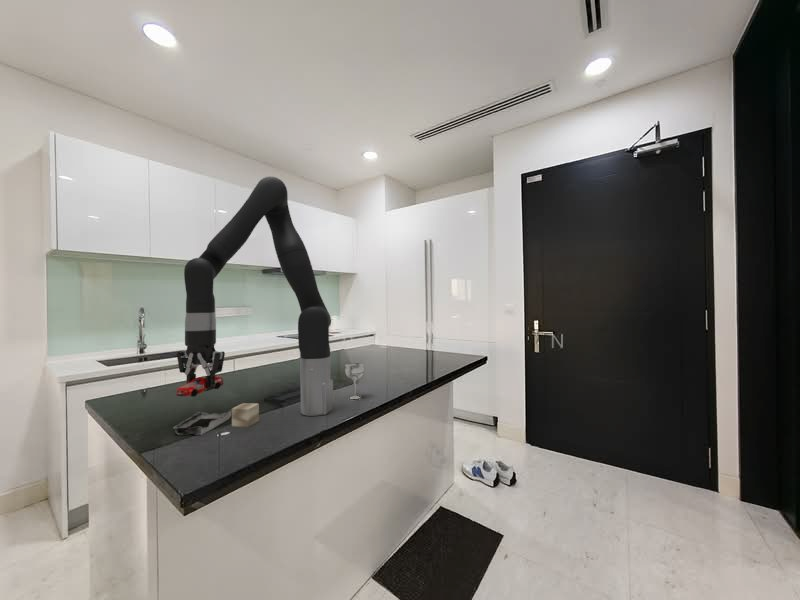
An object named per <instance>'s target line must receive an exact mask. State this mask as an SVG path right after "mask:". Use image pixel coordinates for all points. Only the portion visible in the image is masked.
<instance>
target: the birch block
mask: <svg viewBox="0 0 800 600" xmlns="http://www.w3.org/2000/svg"><path fill="white" fill-rule="evenodd" d="M259 421H260V404H259V403H250V402H248V403H247V402H246V403H245V402H243V403H240V404H238V405H237V406H234V407H231V427H238V428H239V427H240V428H249V427H251V426H252V425H254V424H255V423H257V422H259Z"/></svg>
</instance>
